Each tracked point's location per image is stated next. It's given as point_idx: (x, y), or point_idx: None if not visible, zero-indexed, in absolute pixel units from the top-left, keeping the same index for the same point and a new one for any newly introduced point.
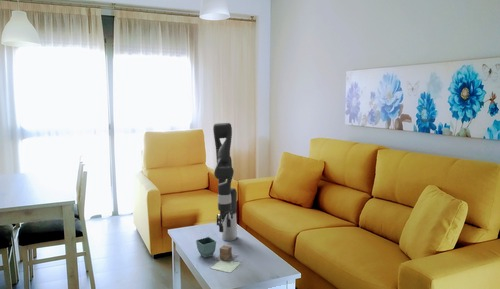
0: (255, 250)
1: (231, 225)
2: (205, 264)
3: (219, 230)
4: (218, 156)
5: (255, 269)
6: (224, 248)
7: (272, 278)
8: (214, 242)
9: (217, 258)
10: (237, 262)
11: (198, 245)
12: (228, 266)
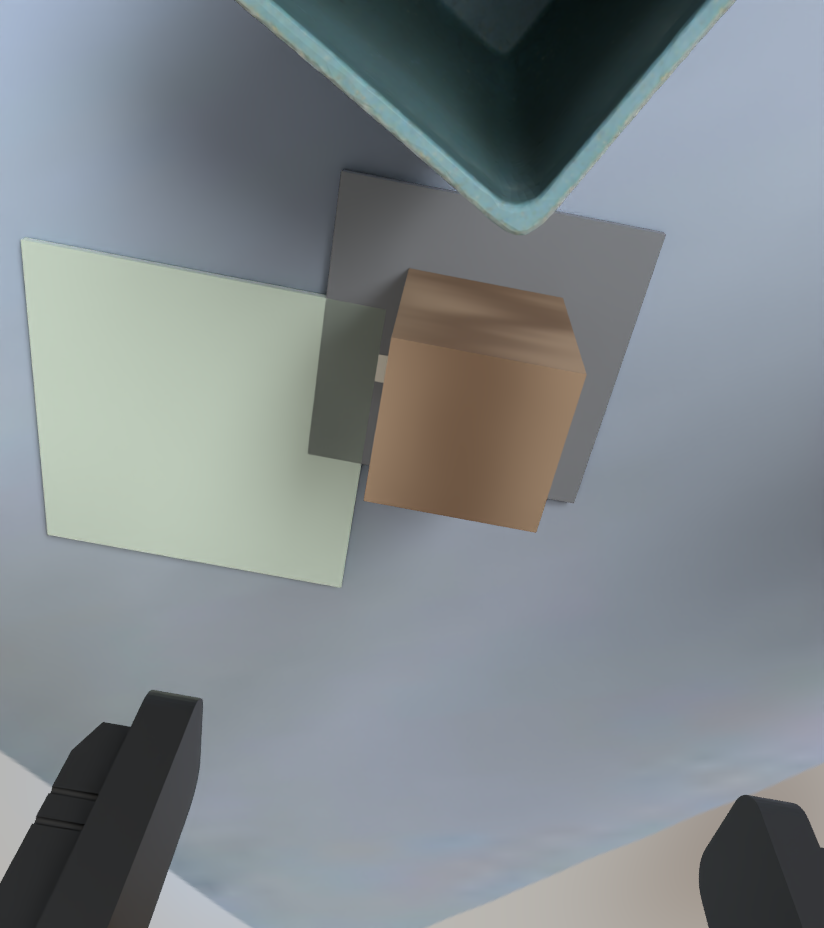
0: (787, 665)
1: None
2: (116, 80)
3: (74, 755)
4: None
5: (256, 735)
6: (401, 435)
7: None
8: (471, 199)
9: (388, 227)
10: (342, 549)
11: None
12: (187, 473)
